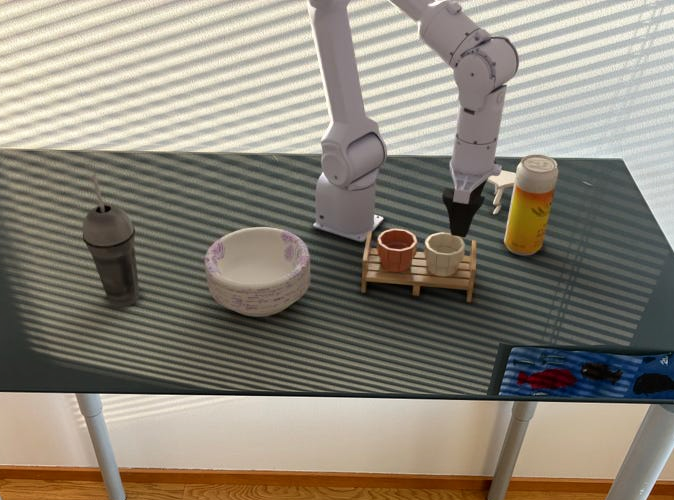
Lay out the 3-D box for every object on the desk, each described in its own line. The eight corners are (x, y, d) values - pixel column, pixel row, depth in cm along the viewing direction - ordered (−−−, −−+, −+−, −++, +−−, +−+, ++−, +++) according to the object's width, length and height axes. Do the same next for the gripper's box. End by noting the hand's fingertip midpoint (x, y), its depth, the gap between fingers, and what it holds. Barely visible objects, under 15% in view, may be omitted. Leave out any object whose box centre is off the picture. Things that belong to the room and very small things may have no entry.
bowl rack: (366, 263, 121) (368, 231, 117) (471, 271, 119) (476, 239, 115) (361, 292, 116) (362, 260, 111) (470, 302, 114) (476, 269, 110)
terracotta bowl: (369, 269, 115) (371, 244, 112) (387, 249, 119) (388, 224, 116) (404, 280, 113) (406, 255, 110) (420, 259, 117) (423, 235, 113)
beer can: (541, 259, 121) (560, 175, 111) (502, 255, 122) (517, 171, 112) (541, 237, 126) (559, 154, 115) (503, 234, 127) (518, 151, 116)
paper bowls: (197, 281, 118) (190, 238, 112) (288, 258, 122) (286, 215, 117) (228, 342, 108) (222, 298, 102) (326, 314, 112) (326, 270, 106)
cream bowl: (416, 273, 114) (418, 248, 111) (432, 252, 118) (435, 228, 115) (452, 284, 112) (455, 259, 109) (467, 263, 116) (470, 238, 113)
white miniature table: (474, 217, 130) (478, 192, 127) (465, 191, 136) (469, 166, 133) (544, 215, 131) (549, 190, 127) (532, 190, 137) (537, 165, 133)
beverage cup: (107, 318, 112) (76, 199, 98) (93, 291, 116) (62, 173, 103) (154, 303, 114) (131, 185, 100) (139, 277, 119) (115, 161, 105)
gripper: (498, 165, 96) (482, 253, 105) (514, 115, 106) (499, 200, 115) (442, 156, 98) (432, 244, 107) (464, 108, 108) (453, 192, 117)
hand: (463, 220), depth 111 cm, fingers open, 7 cm apart
